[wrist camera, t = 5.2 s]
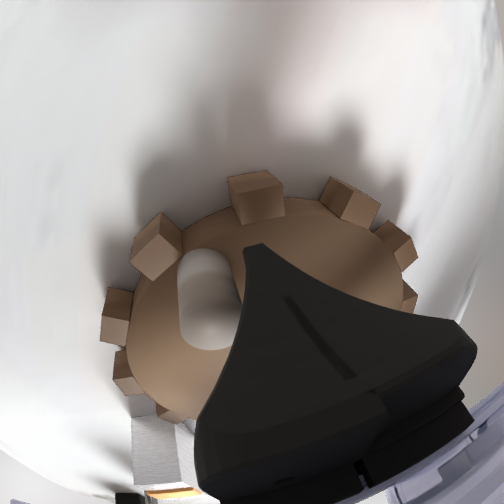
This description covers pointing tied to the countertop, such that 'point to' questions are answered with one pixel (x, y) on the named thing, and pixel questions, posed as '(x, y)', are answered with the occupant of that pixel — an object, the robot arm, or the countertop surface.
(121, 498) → the battery
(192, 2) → the countertop surface
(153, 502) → the mechanical component
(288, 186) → the countertop surface
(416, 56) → the countertop surface
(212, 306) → the brown gear wheel
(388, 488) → the robot arm
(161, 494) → the white banded box
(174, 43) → the countertop surface
